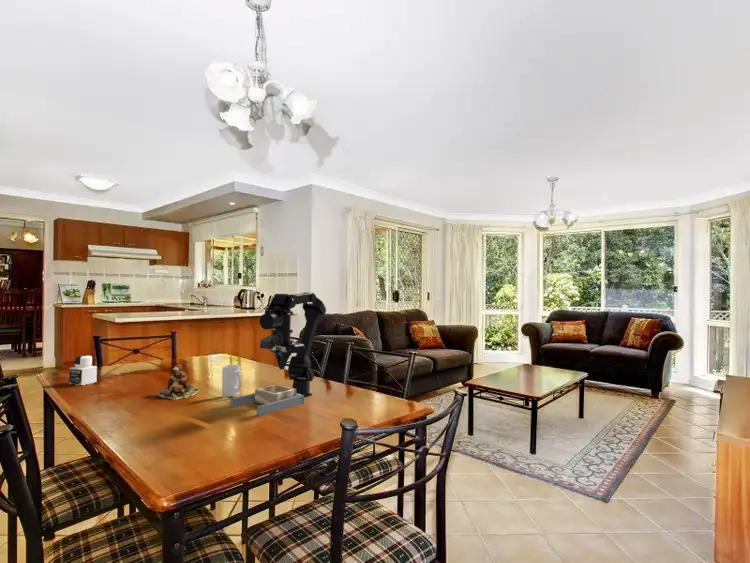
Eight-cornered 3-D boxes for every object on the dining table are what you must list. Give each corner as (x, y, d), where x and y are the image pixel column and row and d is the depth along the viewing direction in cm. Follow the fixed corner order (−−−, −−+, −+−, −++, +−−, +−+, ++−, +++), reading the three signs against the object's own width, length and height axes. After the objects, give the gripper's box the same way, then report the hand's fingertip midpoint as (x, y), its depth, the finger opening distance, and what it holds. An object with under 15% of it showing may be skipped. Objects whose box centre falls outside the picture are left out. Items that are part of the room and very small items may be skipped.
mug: (218, 397, 162) (218, 366, 163) (233, 393, 168) (234, 364, 168) (232, 402, 156) (233, 370, 156) (247, 398, 161) (248, 367, 161)
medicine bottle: (68, 384, 178) (69, 356, 178) (84, 381, 184) (85, 354, 185) (81, 386, 176) (82, 357, 176) (96, 382, 182) (97, 355, 182)
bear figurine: (149, 398, 160) (149, 366, 160) (177, 389, 174) (178, 360, 174) (178, 401, 156) (179, 369, 156) (205, 392, 170) (205, 362, 171)
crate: (276, 397, 159) (276, 384, 159) (296, 402, 153) (296, 389, 153) (254, 402, 151) (255, 389, 151) (274, 408, 145) (275, 394, 145)
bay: (275, 398, 162) (275, 388, 162) (303, 406, 153) (304, 395, 153) (230, 409, 146) (230, 398, 146) (259, 419, 136) (259, 407, 137)
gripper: (248, 326, 154) (247, 369, 153) (282, 330, 142) (281, 376, 142) (272, 325, 163) (271, 365, 162) (306, 328, 151) (305, 371, 151)
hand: (281, 369), depth 154 cm, fingers closed
